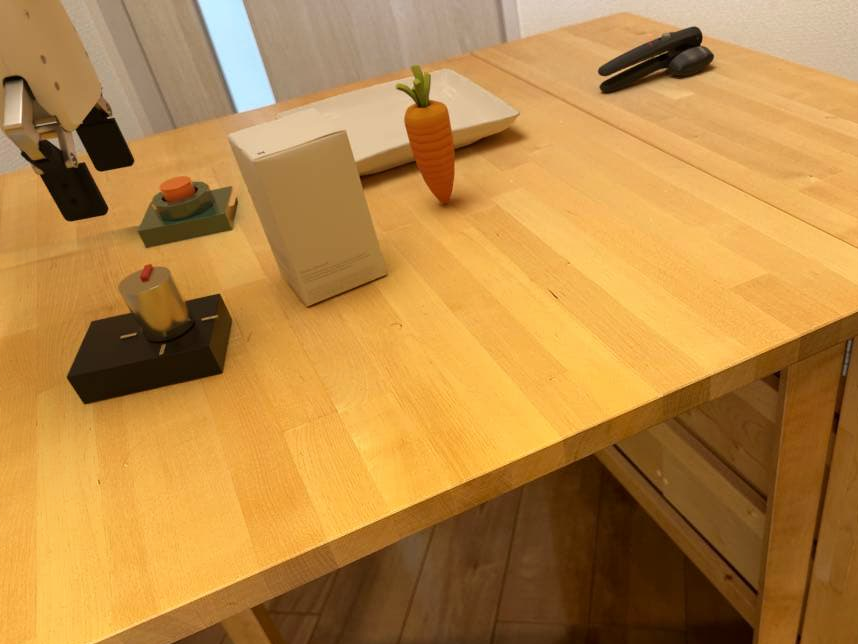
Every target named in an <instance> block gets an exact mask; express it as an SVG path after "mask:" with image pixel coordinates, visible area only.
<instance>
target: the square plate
mask: <svg viewBox="0 0 858 644" xmlns="http://www.w3.org/2000/svg"><path fill="white" fill-rule="evenodd" d="M428 73H429V74H430V75H431V84H430V92H429V100H433V101H438V102H442V103H443V104H445V105H446V107H447V109H448V113H449V118H450V124H451V130H452V137H453V143H454V150H456V149H460V148H464V147H467V146H469V145H472V144H474V143H476V142H478V141H480V140H482V138H486V137H490V136H492V135H495V134H499V133H501V132H503V131H505V130H507V129H508V128H510V127H511V126H512V125H513V123H515V122H516V120H517V119H518V117H519V116H520V115H521V111H520V110H519V109H517V108H516V107H514V106H513V105H511V104H510V103H508V102H506V101H505V100H503V99H501V98H500V97H498V96H497V95H495V94H494V93H492V92H491V91H489V90H487V89H486V88H484V87H482V86H481V85H479V84H477V82H475V81H472V79H469V78H468V77H466V76H465V75H463V74H461V73H459V72H457V71H455V69H452V68H442V69H438V70H435V71H430V72H428ZM423 76H424V73H423ZM414 80H415V77H414V75H413V76H409V77H405V78H400V79H395V80H391V81H387V82H383V83H378V84H375V85H370V86H367V87H362V88H358V89H355V90H352V91H347V92H344V93H341V94H337V95H334V96H331V97H328V98H325V99H321V100H317V101H314V102H311V103H308V104H305V105H302V106H298V107H295V108H291V109H288V110H285V111H284V110H283V111H282V112H278V113H277V114H276V115H275V119H279V118H282V117H285V116H288V115H291V114H294V113H297V112H300V111H304V110H308V109H311V108H314V109H316V110H317V111H318V112H320V113H321V114H323V115H324V116H325V117H327V118H328V119H330V120H331V121H333V122H334V123H336V124H337V125H339V126H340V127H342V128H343V129H345V130H346V132H347V136H348V139H349V142H350V146H351V149H352V153H353V156H354V159H355V163H356V166H357V170H358V173H359V177H361V176H368V175H373V174H377V173H380V172H384V171H387V170H390V169H394V168H397V167H400V166H403V165H407V164H410V163H413V162H416V161H415V158H414V155H413V152H412V149H411V145H410V142H409V138H408V135H407V131H406V127H405V123H404V116H405V113H406V110H407V108H408V107H409V106H411V105H413V104H415V102H414V100H413V99H412V98H411V97H410V96H409V95H408V94H406V93H405V92H403V91H400V90H397V89H396V85H397V84H398V83H400V84H404V85H407V86H408V87H409V88H410V89H411V90H412V88H413V86H414V84H413V81H414Z"/></svg>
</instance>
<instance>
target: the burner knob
mask: <svg viewBox="0 0 858 644" xmlns="http://www.w3.org/2000/svg"><path fill="white" fill-rule="evenodd" d="M172 273H173V272H172V271H171V269H169V268H167V267H166V266H153V265H152V263H149V264H144V266H143V268H142V269H139V270H137V271H134V272H132V273H130V274H129V275H127V276H126V277H125V278H123V279H122V280H121V281H120V282H119V283H118V286H117V291H118V292H119V294H120V296H121V298H122V299H123V301H124V304H125V305H126V307H127V308H128V310H129V313H131V314H132V315H133V317H134V319H135V321H136V323H137V324H138V326H139V328H140V330H141V331H142V333H143V335H144V337H145V338H146V339H147V340H149V341H153V342H161V341H166V340H170V339H173V338H176V337H178V336H180V335H182V334H183V333H185V332H186V331H188V330H189V329H190V328H191V327H192V325H193V323H194V317H193V315H192V313H191V311H190V309H189V307H188V305H187V303H186V301H187V300H186V299H185V297H184V294H183V293H182V291H181V290H180V287H179V285H178V284H177V281H176V279H175V278H174V275H173V274H172Z"/></svg>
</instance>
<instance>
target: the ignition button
mask: <svg viewBox="0 0 858 644" xmlns="http://www.w3.org/2000/svg"><path fill="white" fill-rule="evenodd" d="M192 182H193V181H192V178H191V177H190V176H187V175H180V176H175V177H172V178H169V179H165V180H164V181H163V182H161V183H160V184H159V186H158V188H159V190H160V191H159V192H161V193H162V195H163V197H164V199H165V201H166V202H175V201H180V200H184V199H186V198H188V197H191V196H192V195H194V194H195V193H196V190H195V187H194V185H193V183H192Z"/></svg>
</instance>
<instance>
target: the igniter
mask: <svg viewBox="0 0 858 644" xmlns="http://www.w3.org/2000/svg"><path fill="white" fill-rule="evenodd" d="M192 183H193V185H194V187H195V190H196V193H195V194H194V195H192V196H191V197H188V198H186V199H184V200H180V201H175V202H166V201H165V199H164V197H163V195H162V193H161V191H159V192H158V193H156V194H154V195H153V196H152V198H151V201H150V202H149V204H148V206H147V208H146V211H145V213H144V216H143V218H142V221H141V223H140V225H139V227H138V229H137V233H138V235H139V237H140V239H141V241H142V243H143V245H144V247H145V248H146V249H148V248H152V247H157V246H162V245H167V244H172V243H176V242H177V243H178V242H182V241H186V240H191V239H196V238H201V237H205V236H206V237H207V236H210V235H215V234H220V233H225V232H229V231H232V230H233V227H234V224H235V218H236V214H237V209H238V205H239V201H238V198H237V197H235V199H234V203H233V204H234V205H229V204H230V199H231V195H232V192H233V186H232V185H229V186H225V187H220V188H215V189H211V188H210V185H209V184H207V182H206V183H205V182H204V181H192Z"/></svg>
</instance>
